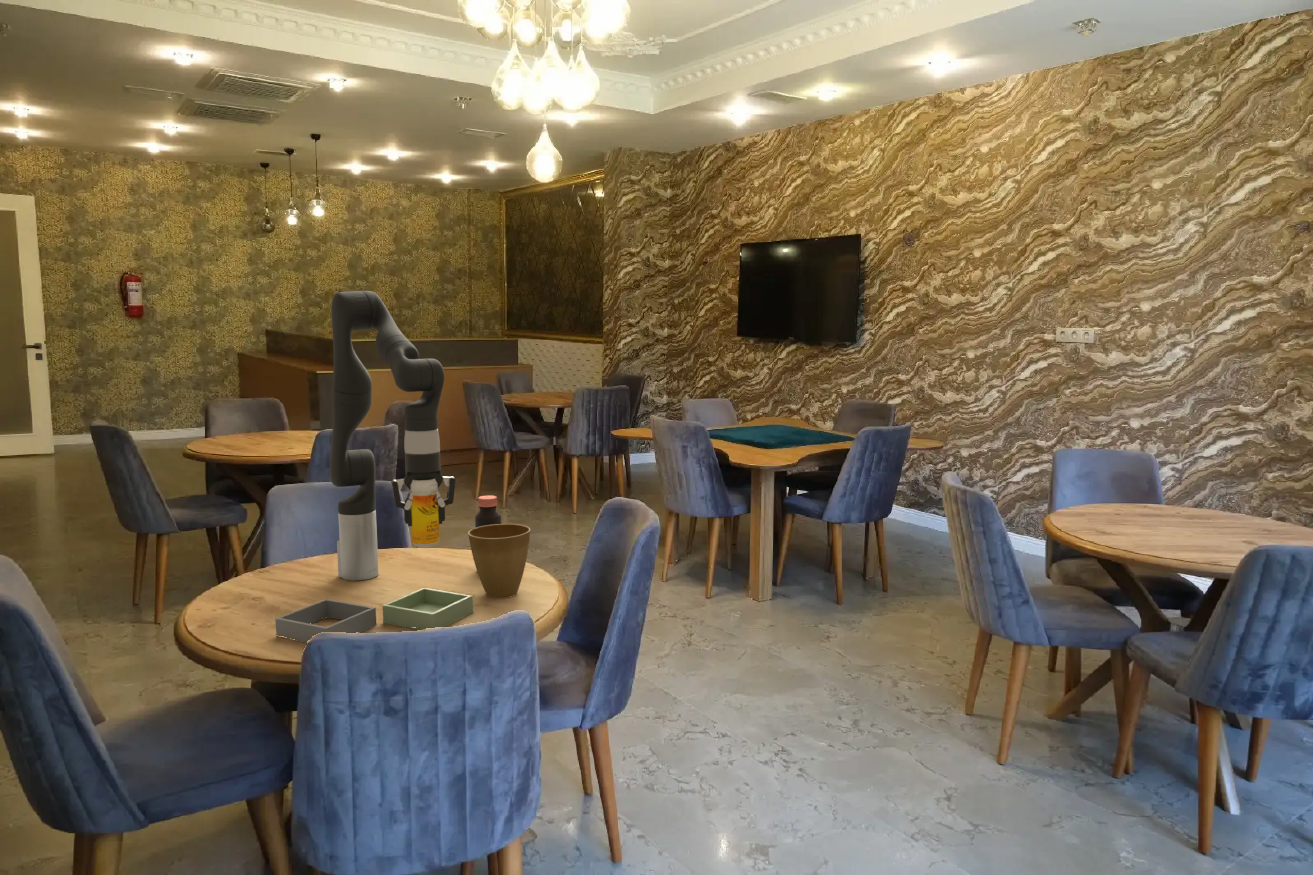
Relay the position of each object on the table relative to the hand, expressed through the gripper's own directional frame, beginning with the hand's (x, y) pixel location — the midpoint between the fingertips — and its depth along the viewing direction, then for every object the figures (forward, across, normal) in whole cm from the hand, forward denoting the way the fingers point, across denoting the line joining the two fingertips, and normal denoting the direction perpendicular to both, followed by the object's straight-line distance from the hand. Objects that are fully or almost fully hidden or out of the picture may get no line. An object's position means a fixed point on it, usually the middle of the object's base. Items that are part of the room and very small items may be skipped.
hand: (425, 524), depth 198 cm
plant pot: (+22, +18, +11) cm, 31 cm away
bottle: (+22, +19, +32) cm, 43 cm away
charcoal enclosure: (+22, -22, -1) cm, 30 cm away
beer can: (+5, 0, 0) cm, 5 cm away
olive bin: (+22, 0, 0) cm, 22 cm away
